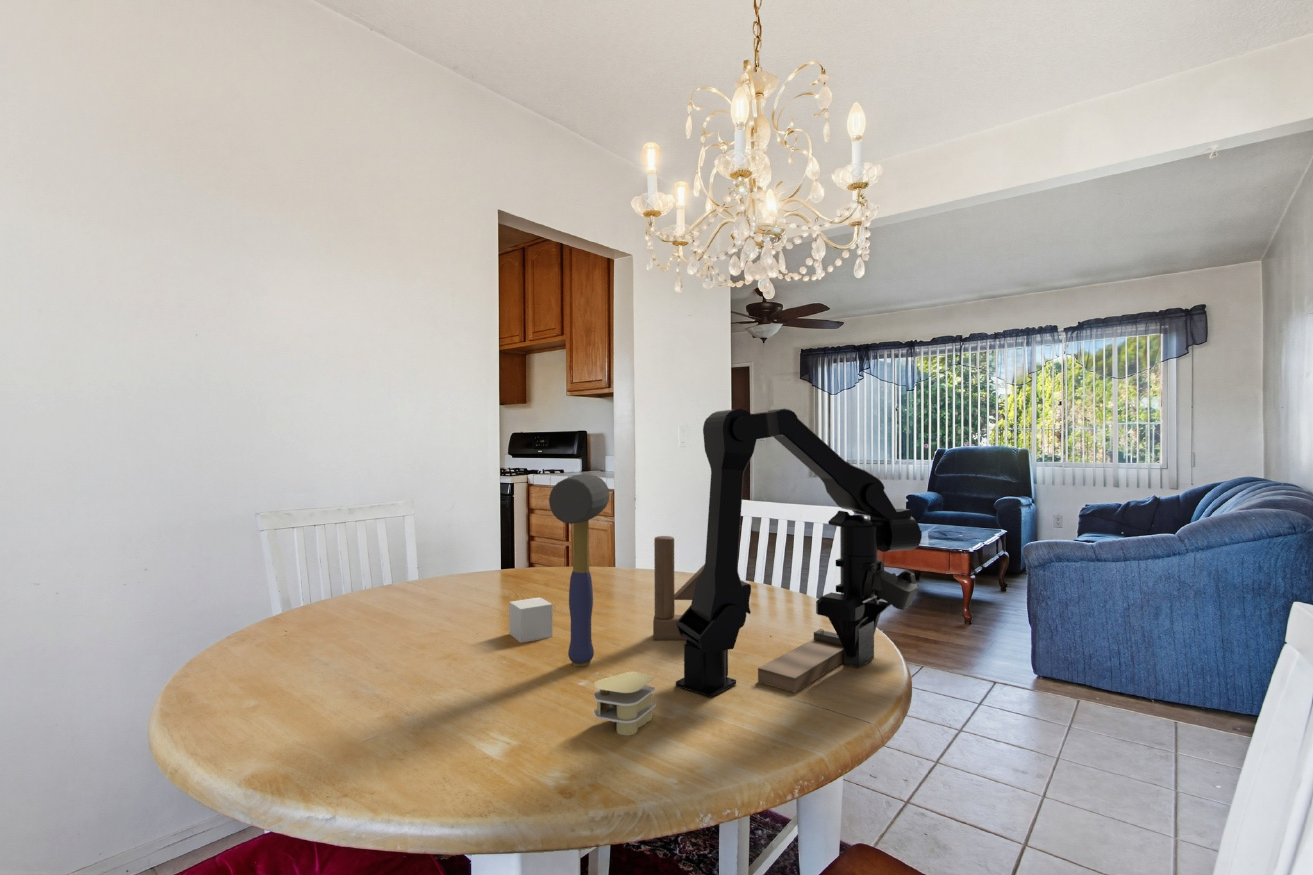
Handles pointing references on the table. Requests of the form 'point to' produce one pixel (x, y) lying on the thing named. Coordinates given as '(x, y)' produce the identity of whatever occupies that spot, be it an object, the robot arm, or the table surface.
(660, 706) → the table surface
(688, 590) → the brown post on base
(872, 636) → the marking gauge
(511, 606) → the grey cube
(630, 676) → the toy house
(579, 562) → the rubber mallet
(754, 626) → the table surface
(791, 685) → the walnut board
